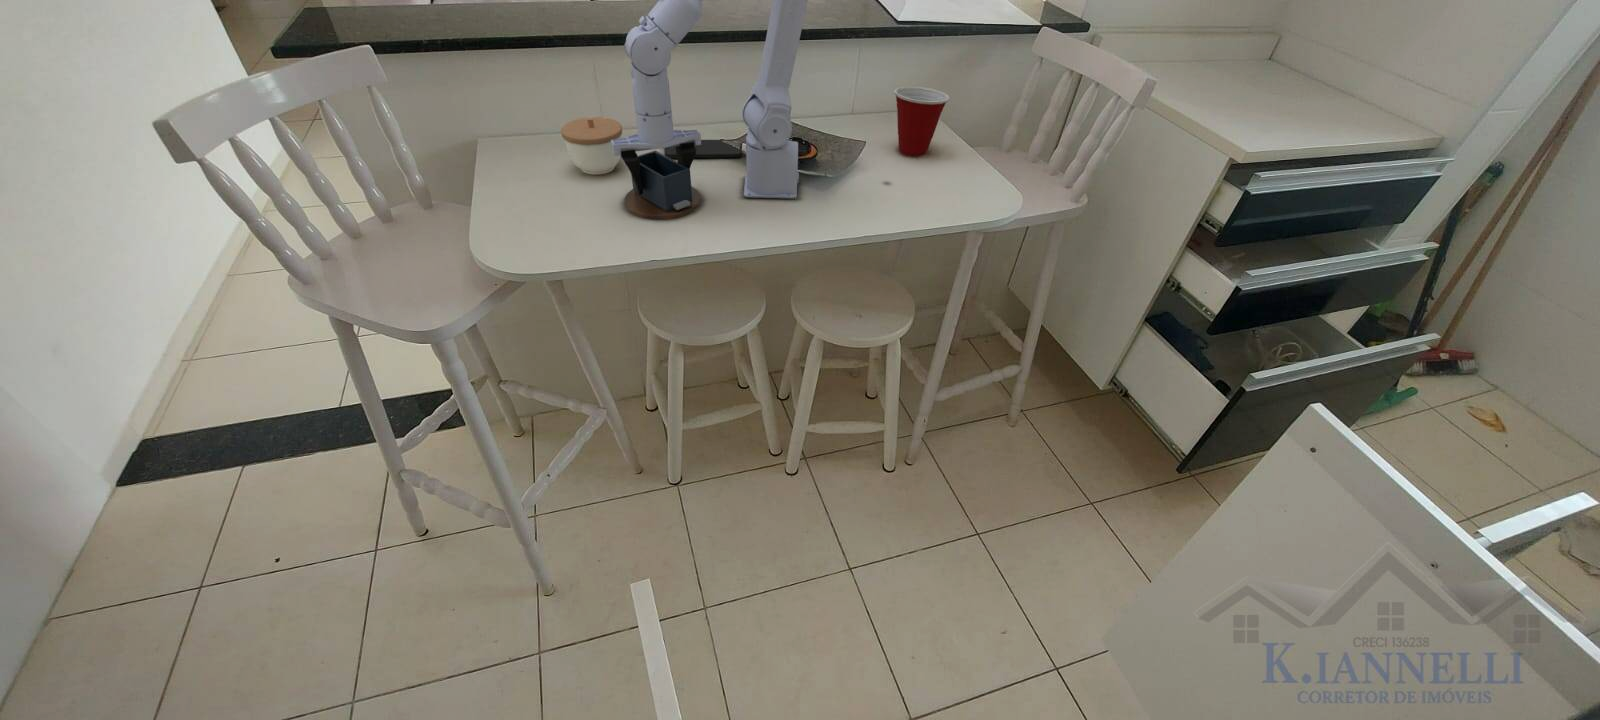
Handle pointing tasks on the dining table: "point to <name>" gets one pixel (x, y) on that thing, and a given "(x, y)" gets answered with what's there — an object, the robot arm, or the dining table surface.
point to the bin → (664, 181)
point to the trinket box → (592, 143)
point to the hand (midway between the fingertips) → (661, 188)
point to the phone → (709, 150)
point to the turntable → (652, 211)
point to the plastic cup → (917, 118)
